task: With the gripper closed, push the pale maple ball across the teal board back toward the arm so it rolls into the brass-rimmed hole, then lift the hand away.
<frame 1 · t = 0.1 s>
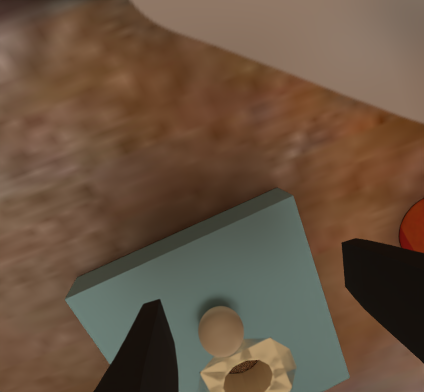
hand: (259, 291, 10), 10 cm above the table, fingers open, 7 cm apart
hole board: (223, 321, 22), on the table
maple ball: (221, 330, 17), point 4 cm above the table, touching hole board
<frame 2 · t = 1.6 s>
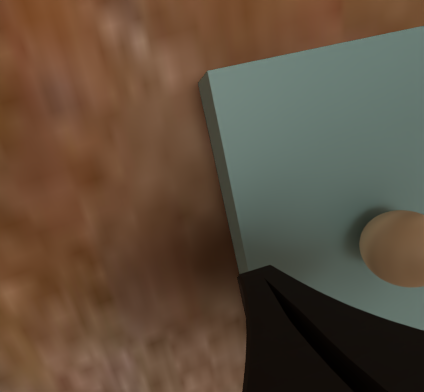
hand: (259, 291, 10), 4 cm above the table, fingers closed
hole board: (387, 201, 15), on the table
maple ball: (402, 247, 10), point 4 cm above the table, touching hole board
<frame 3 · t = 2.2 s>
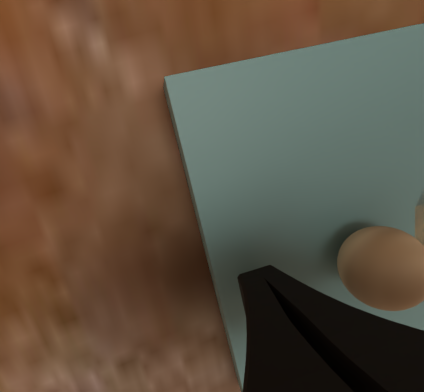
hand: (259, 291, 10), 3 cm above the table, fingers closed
hole board: (371, 212, 14), on the table
maple ball: (382, 266, 10), point 4 cm above the table, touching hole board
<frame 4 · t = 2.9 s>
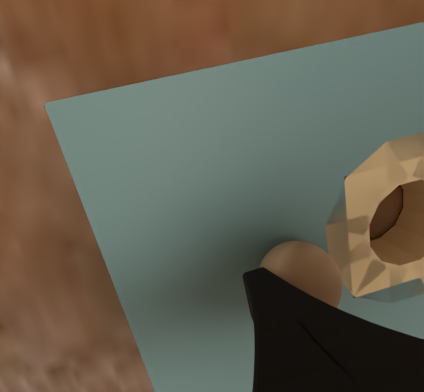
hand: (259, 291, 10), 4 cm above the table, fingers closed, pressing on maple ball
hole board: (300, 226, 14), on the table
maple ball: (297, 281, 10), point 4 cm above the table, tilted 34°, touching gripper, hole board
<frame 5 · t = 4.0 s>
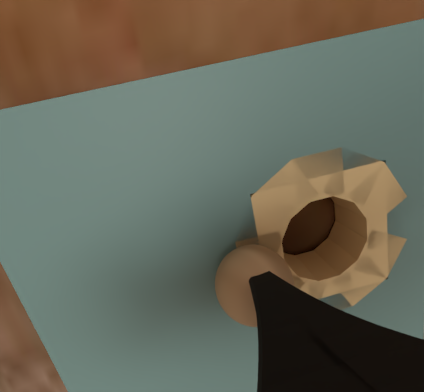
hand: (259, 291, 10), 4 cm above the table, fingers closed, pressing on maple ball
hole board: (228, 239, 14), on the table
maple ball: (253, 283, 10), point 4 cm above the table, tilted 124°, touching gripper, hole board
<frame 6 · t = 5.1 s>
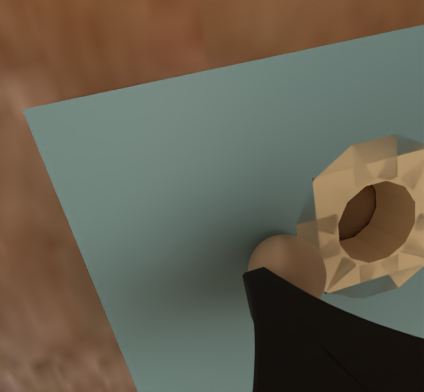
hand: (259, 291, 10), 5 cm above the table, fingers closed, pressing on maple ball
hole board: (277, 226, 14), on the table
maple ball: (285, 272, 11), point 4 cm above the table, tilted 65°, touching gripper, hole board
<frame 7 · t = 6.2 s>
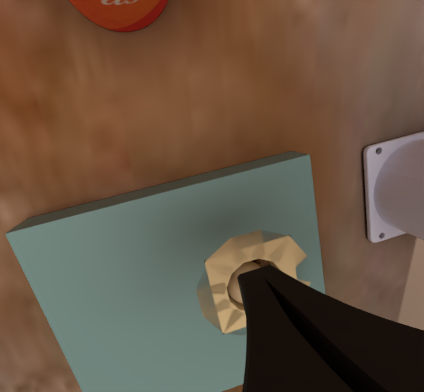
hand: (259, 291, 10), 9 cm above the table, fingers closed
hole board: (195, 282, 20), on the table
maple ball: (245, 281, 19), point 1 cm above the table, tilted 94°
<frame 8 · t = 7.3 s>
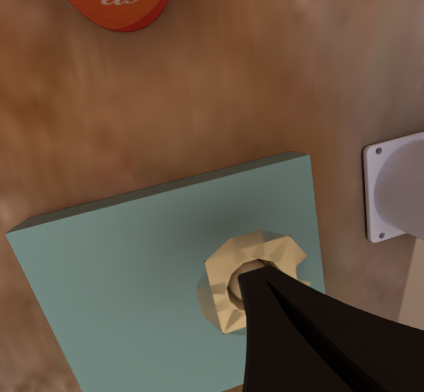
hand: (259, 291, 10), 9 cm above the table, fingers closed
hole board: (195, 282, 20), on the table
maple ball: (248, 278, 19), point 1 cm above the table, tilted 83°
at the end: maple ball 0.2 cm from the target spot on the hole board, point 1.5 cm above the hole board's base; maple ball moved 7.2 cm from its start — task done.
